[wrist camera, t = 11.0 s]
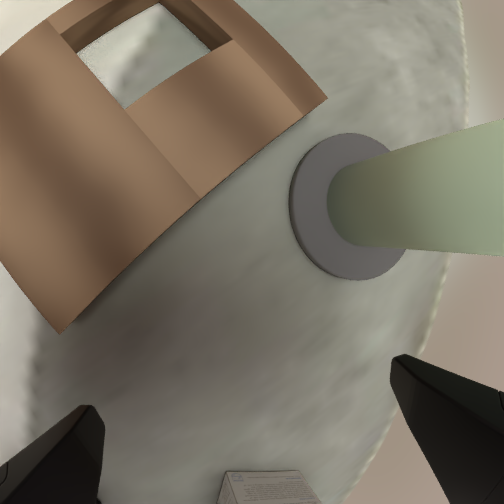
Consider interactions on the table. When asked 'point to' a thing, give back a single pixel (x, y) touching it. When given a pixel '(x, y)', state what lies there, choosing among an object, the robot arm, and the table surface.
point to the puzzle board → (126, 142)
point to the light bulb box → (266, 488)
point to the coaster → (316, 214)
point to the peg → (426, 195)
